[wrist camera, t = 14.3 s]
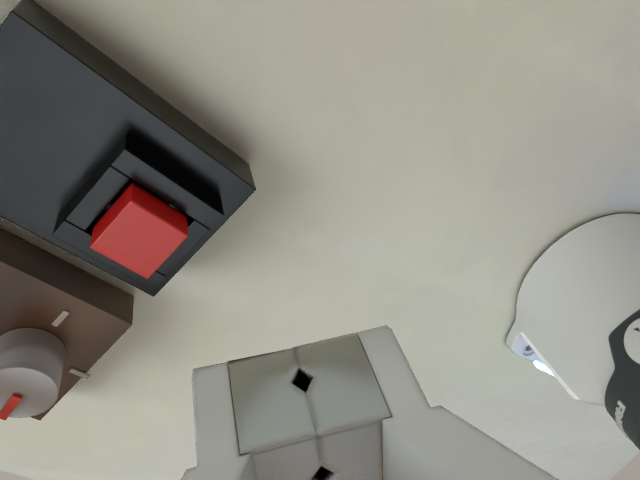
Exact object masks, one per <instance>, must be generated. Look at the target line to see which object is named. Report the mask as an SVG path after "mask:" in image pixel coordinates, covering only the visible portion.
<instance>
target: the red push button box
mask: <svg viewBox="0 0 640 480" xmlns="http://www.w3.org/2000/svg"><path fill="white" fill-rule="evenodd" d="M131 183H135V184H136V185H138V186H139V187H141V188H143V189H144V190H146V191H147V192H149V193H150V194H152V195H154V196H155V197H157V198H158V199H160V200H161V201H163V202H164V203H166V204H168V205H169V206H171V207H172V208H174V209H175V210H177V211H179V212H180V213H182V214H183V215H185V216H186V217H187V226H188V237H187V238H186V239H185V240H184V241H183V242H182V243H181V244H180V245H179V246H178V247H177V249H176V250H175V251H174V252H173V253H172V254H171V255H170V256H169V257H168V258H167V259H166V260H165V261H164V262H163V263H162V265H161V266H160V267H159V268H158V269H157V270H156V271H155V272H154V273H153V274H152V275H151V276H150V277H149V278H148V279H146V278H145V277H143V276H141V275H139V274H137V273H135V272H134V271H132V270H130V269H128V268H126V267H124V266H122V265H121V264H119V263H117V262H115V261H113V260H111V259H110V258H108V257H106V256H104V255H102V254H100V253H98V252H97V251H95V250H93V249H91V248H90V244H91V238H92V233H93V227H94V226H95V225H96V224H97V222H98V221H99V220H100V219H101V218H102V217H103V216H104V214H105V213H106V212H107V211H108V210H109V209H110V207H111V206H112V205H113V204H114V203H115V202H116V201H117V199H118V198H119V197H120V196H121V195H122V194H123V192H124V191H125V190H126V189H127V188H128V187H129V186H130V184H131ZM255 190H256V187H255V184H254V180H253V177H252V173H251V170H250V167H249V164H248V163H247V162H246V161H244V160H243V159H242V158H240V157H239V156H238V155H236V154H235V153H234V152H233V151H231V150H230V149H229V148H227V147H226V146H225V145H223V144H222V143H221V142H219V141H218V140H217V139H215V138H214V137H213V136H211V135H210V134H209V133H207V132H206V131H205V130H203V129H202V128H201V127H200V126H198V125H197V124H196V123H194V122H193V121H192V120H190V119H189V118H188V117H186V116H185V115H184V114H182V113H181V112H180V111H178V110H177V109H176V108H174V107H173V106H172V105H170V104H169V103H168V102H167V101H165V100H164V99H163V98H161V97H160V96H159V95H157V94H156V93H155V92H153V91H152V90H151V89H149V88H148V87H147V86H145V85H144V84H143V83H141V82H140V81H139V80H137V79H136V78H135V77H134V76H132V75H131V74H130V73H128V72H127V71H126V70H124V69H123V68H122V67H120V66H119V65H118V64H116V63H115V62H114V61H112V60H111V59H110V58H108V57H107V56H106V55H105V54H103V53H102V52H101V51H99V50H98V49H97V48H95V47H94V46H93V45H91V44H90V43H89V42H87V41H86V40H85V39H83V38H82V37H81V36H79V35H78V34H77V33H75V32H74V31H73V30H72V29H70V28H69V27H68V26H66V25H65V24H64V23H62V22H61V21H60V20H58V19H57V18H56V17H54V16H53V15H52V14H50V13H49V12H48V11H46V10H45V9H44V8H42V7H41V6H40V5H39V4H37V3H36V2H35V1H33V0H21V1H20V2H19V3H18V5H17V6H16V7H15V8H14V9H13V10H12V11H11V12H10V14H9V15H8V17H7V18H6V19H5V21H4V22H3V24H2V25H1V26H0V216H1V217H3V218H5V219H7V220H9V221H11V222H12V223H14V224H16V225H18V226H20V227H22V228H24V229H26V230H28V231H30V232H31V233H33V234H35V235H37V236H39V237H41V238H43V239H45V240H47V241H49V242H51V243H52V244H54V245H56V246H58V247H60V248H62V249H64V250H66V251H68V252H70V253H71V254H73V255H75V256H77V257H79V258H81V259H83V260H85V261H87V262H89V263H91V264H92V265H94V266H96V267H98V268H100V269H102V270H104V271H106V272H108V273H110V274H111V275H113V276H115V277H117V278H119V279H121V280H123V281H125V282H127V283H129V284H130V285H132V286H134V287H136V288H138V289H140V290H142V291H144V292H146V293H148V294H150V295H151V296H155V295H156V294H157V293H158V292H159V291H160V290H161V289H162V287H163V286H164V285H165V284H166V283H167V282H168V281H169V280H170V279H171V278H172V277H173V276H174V275H175V274H176V273H177V272H178V271H179V270H180V269H181V268H182V267H183V265H184V264H185V263H186V262H187V261H188V260H189V259H190V258H191V257H192V256H193V255H194V254H195V253H196V252H197V251H198V250H199V249H200V248H201V247H202V246H203V245H204V243H205V242H206V241H207V240H208V239H209V238H210V237H211V236H212V235H213V234H214V233H215V232H216V231H217V230H218V229H219V228H220V227H221V226H222V225H223V224H224V223H225V222H226V220H227V219H228V218H229V217H230V216H231V215H232V214H233V213H234V212H235V211H236V210H237V209H238V208H239V207H240V206H241V205H242V204H243V203H244V202H245V201H246V200H247V198H248V197H249V196H250V195H251V194H252V193H253V192H254V191H255Z"/></svg>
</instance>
